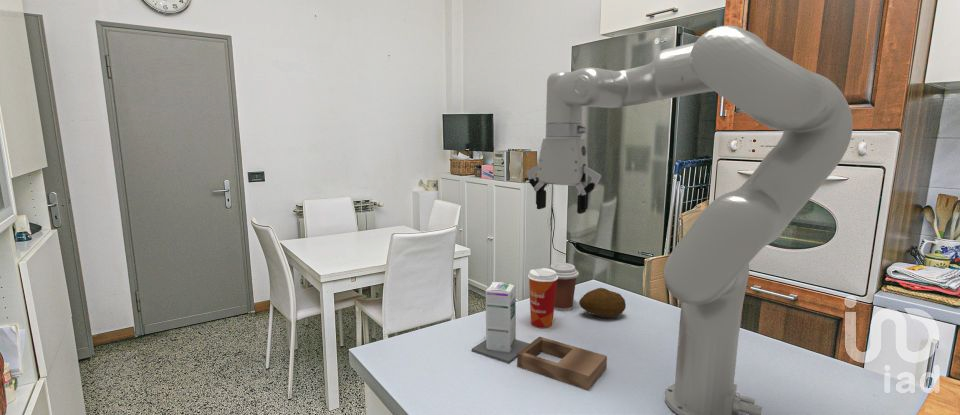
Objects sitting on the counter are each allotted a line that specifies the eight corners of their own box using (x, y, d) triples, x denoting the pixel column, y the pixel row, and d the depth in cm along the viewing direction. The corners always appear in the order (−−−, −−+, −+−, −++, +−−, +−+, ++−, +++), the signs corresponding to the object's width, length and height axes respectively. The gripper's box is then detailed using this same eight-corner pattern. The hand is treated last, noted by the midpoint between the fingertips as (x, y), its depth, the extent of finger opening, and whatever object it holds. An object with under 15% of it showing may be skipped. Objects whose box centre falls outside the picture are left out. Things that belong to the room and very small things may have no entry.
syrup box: (510, 353, 104) (511, 291, 101) (485, 350, 105) (485, 288, 103) (515, 342, 109) (516, 283, 107) (491, 339, 111) (491, 280, 108)
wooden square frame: (606, 369, 98) (607, 355, 98) (588, 390, 90) (588, 376, 90) (538, 348, 107) (539, 336, 107) (517, 366, 99) (517, 353, 99)
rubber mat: (531, 346, 108) (531, 344, 108) (509, 363, 100) (509, 361, 100) (495, 335, 114) (495, 333, 114) (471, 351, 106) (471, 348, 106)
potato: (630, 321, 123) (631, 293, 122) (584, 323, 122) (585, 294, 120) (618, 309, 131) (619, 283, 130) (575, 311, 130) (576, 284, 128)
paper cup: (521, 320, 123) (522, 269, 121) (546, 315, 126) (547, 266, 124) (537, 332, 116) (538, 278, 114) (562, 326, 119) (564, 274, 117)
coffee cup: (566, 299, 139) (567, 260, 137) (584, 309, 131) (585, 268, 129) (539, 303, 136) (540, 263, 134) (555, 314, 127) (557, 272, 125)
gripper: (608, 132, 98) (604, 212, 101) (535, 131, 108) (534, 204, 111) (595, 132, 92) (591, 217, 95) (519, 132, 102) (518, 209, 104)
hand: (560, 210), depth 103 cm, fingers open, 9 cm apart
